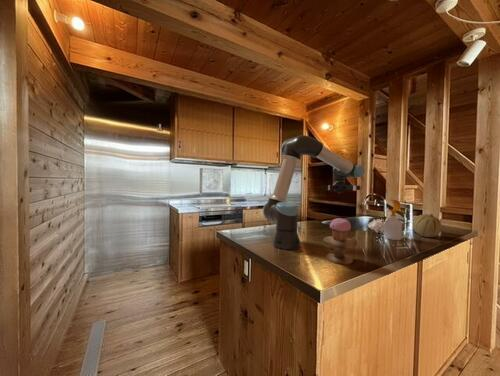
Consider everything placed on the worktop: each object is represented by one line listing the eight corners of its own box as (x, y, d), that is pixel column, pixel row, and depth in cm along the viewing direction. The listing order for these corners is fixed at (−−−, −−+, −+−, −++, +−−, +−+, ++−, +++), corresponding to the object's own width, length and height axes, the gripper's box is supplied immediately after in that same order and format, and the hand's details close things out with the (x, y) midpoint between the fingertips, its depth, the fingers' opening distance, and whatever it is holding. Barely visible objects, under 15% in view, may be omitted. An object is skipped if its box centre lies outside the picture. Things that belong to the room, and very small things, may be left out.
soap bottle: (380, 237, 139) (381, 199, 138) (391, 236, 142) (392, 198, 141) (394, 240, 130) (395, 200, 130) (405, 239, 133) (406, 199, 132)
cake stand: (330, 265, 91) (330, 244, 91) (318, 254, 105) (319, 236, 105) (362, 265, 91) (363, 244, 91) (347, 254, 105) (347, 236, 105)
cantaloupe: (418, 233, 150) (418, 211, 150) (445, 237, 138) (446, 214, 137) (408, 235, 143) (408, 213, 142) (435, 241, 130) (436, 216, 130)
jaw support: (393, 229, 146) (382, 219, 148) (383, 238, 148) (372, 228, 149) (386, 226, 158) (375, 217, 159) (376, 234, 159) (366, 225, 161)
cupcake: (337, 236, 104) (338, 216, 104) (354, 241, 97) (355, 218, 96) (325, 239, 99) (326, 217, 99) (342, 244, 92) (343, 220, 91)
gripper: (360, 193, 136) (367, 195, 116) (319, 192, 144) (318, 194, 124) (361, 181, 136) (367, 181, 116) (319, 181, 144) (318, 181, 124)
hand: (342, 187), depth 120 cm, fingers open, 13 cm apart
